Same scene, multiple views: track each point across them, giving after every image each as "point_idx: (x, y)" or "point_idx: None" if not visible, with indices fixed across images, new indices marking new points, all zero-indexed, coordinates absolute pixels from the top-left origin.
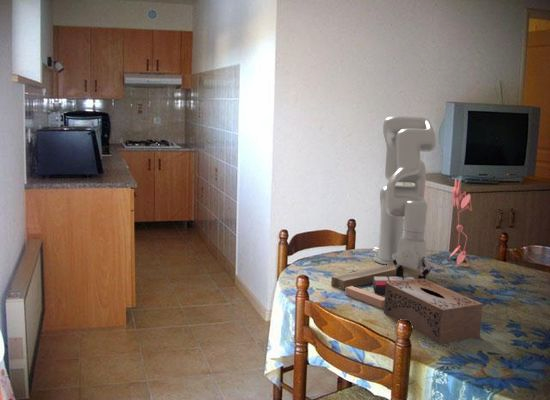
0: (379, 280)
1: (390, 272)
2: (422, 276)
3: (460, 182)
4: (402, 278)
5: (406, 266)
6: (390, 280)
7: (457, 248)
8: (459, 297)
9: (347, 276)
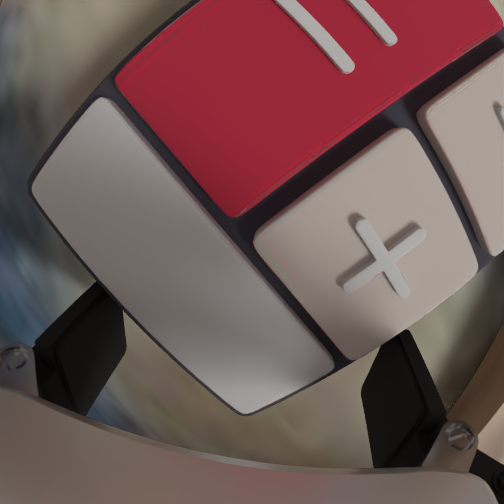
0: (492, 60)
1: (478, 417)
2: (34, 354)
3: None
4: (311, 313)
5: (213, 464)
6: (403, 130)
7: None
8: None
9: None
